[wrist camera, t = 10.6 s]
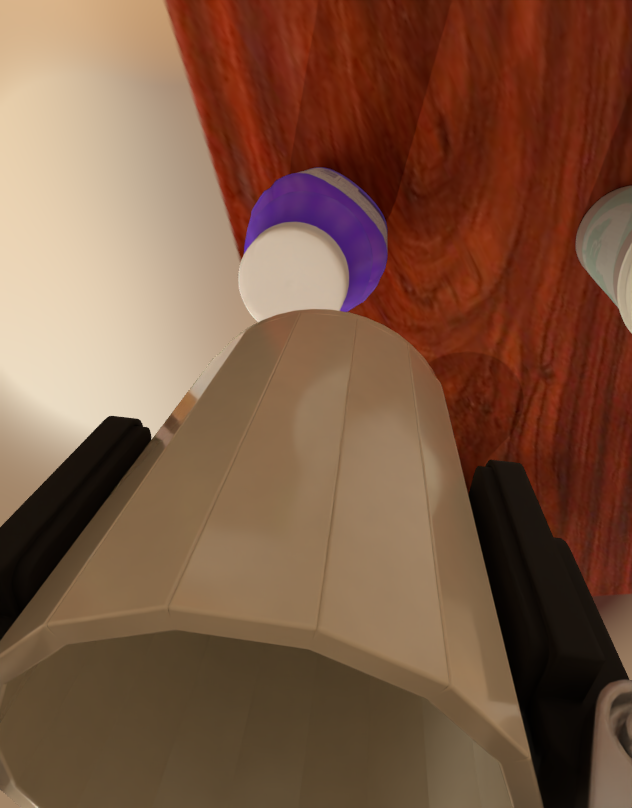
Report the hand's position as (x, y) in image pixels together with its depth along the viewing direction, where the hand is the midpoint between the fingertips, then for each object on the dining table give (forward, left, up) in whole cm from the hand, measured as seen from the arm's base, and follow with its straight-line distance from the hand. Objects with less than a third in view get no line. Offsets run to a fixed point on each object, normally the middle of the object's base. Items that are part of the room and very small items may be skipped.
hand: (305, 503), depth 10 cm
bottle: (-1, -2, -28) cm, 28 cm away
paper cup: (0, 0, -3) cm, 3 cm away
